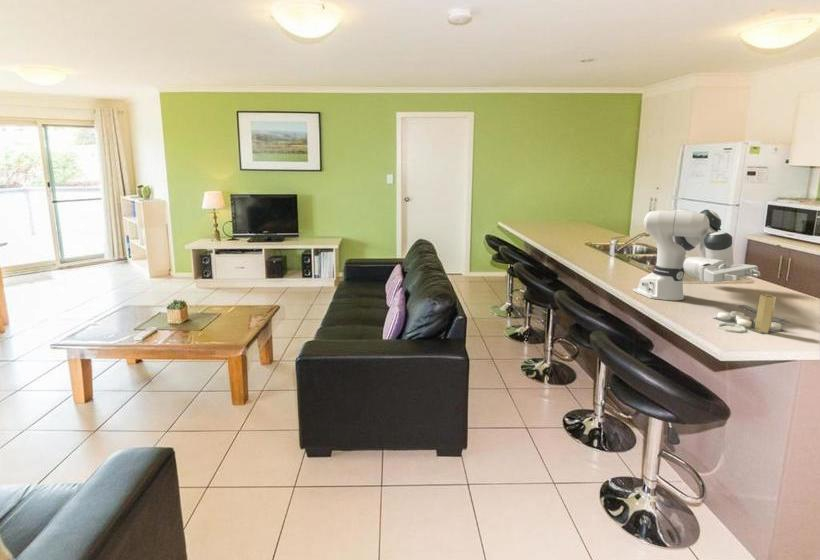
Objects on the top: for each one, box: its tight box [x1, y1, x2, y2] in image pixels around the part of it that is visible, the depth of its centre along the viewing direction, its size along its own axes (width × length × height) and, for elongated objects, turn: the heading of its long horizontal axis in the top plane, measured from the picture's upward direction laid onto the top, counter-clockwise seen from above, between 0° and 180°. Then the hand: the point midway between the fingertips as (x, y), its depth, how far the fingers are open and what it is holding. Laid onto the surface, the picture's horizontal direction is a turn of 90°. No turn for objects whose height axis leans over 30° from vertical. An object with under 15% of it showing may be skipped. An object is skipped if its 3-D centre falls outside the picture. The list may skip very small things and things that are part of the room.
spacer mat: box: [712, 310, 787, 335], centre depth 185 cm, size 20×12×3 cm, turn 19°
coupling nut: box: [754, 294, 777, 335], centre depth 176 cm, size 4×5×13 cm
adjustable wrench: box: [738, 304, 791, 325], centre depth 198 cm, size 25×6×2 cm, turn 177°
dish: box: [715, 322, 747, 334], centre depth 180 cm, size 9×9×2 cm
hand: (748, 276), depth 185 cm, fingers open, 8 cm apart
